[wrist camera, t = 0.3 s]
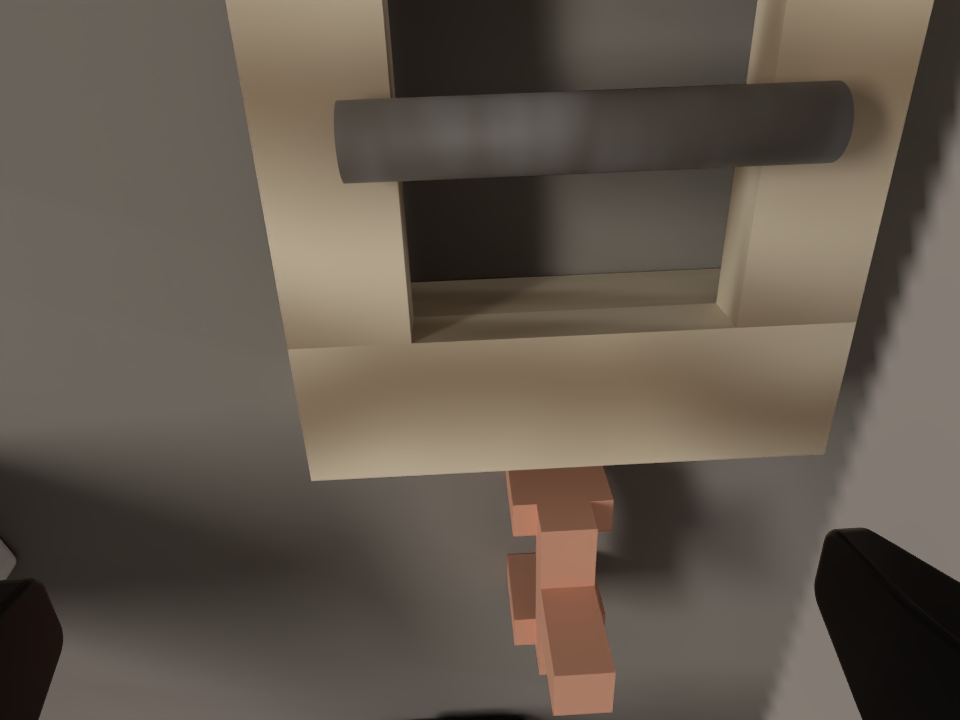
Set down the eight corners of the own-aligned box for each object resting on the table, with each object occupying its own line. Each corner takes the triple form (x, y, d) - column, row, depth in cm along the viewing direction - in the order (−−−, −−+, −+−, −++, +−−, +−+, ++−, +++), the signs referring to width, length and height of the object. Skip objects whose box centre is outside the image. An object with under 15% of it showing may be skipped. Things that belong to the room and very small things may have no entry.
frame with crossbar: (768, 382, 23) (853, 491, 18) (330, 404, 23) (300, 520, 18) (910, -386, 15) (1140, -561, 10) (213, -370, 14) (94, -543, 9)
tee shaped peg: (587, 574, 27) (632, 760, 21) (507, 579, 27) (527, 767, 21) (595, 441, 24) (649, 611, 18) (505, 446, 24) (527, 617, 18)
